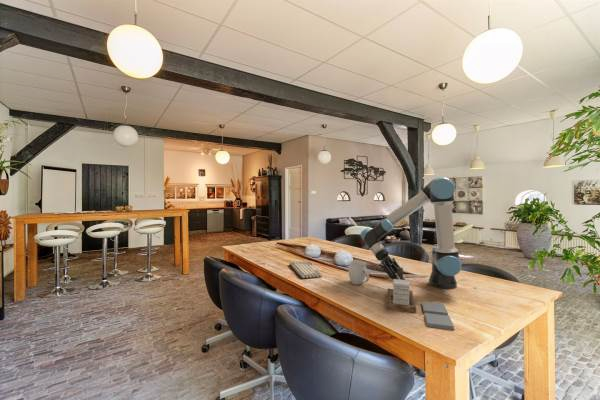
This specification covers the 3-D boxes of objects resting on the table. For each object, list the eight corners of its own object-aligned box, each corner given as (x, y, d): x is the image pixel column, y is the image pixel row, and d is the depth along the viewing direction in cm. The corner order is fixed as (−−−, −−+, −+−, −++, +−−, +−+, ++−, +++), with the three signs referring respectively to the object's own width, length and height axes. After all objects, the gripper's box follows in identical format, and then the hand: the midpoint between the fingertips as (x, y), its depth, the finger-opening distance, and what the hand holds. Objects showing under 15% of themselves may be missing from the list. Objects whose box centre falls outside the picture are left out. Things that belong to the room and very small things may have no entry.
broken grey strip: (443, 306, 134) (443, 303, 134) (453, 330, 112) (454, 326, 112) (421, 304, 138) (421, 301, 137) (427, 326, 115) (427, 322, 115)
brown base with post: (412, 293, 152) (412, 267, 151) (415, 312, 128) (416, 282, 127) (387, 290, 156) (387, 265, 156) (386, 309, 132) (386, 279, 131)
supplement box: (393, 303, 139) (393, 278, 139) (408, 304, 137) (408, 280, 136) (393, 308, 132) (393, 283, 132) (409, 310, 130) (409, 284, 130)
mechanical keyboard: (327, 278, 182) (327, 273, 182) (300, 281, 177) (299, 275, 177) (309, 264, 219) (309, 259, 219) (286, 266, 213) (286, 262, 213)
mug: (374, 285, 165) (374, 264, 165) (362, 289, 159) (362, 267, 159) (357, 279, 177) (357, 259, 177) (344, 282, 171) (344, 261, 171)
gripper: (383, 253, 168) (409, 286, 156) (367, 257, 157) (393, 294, 145) (391, 245, 164) (418, 279, 152) (375, 250, 152) (402, 286, 140)
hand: (406, 286), depth 148 cm, fingers closed on brown base with post, 4 cm apart
